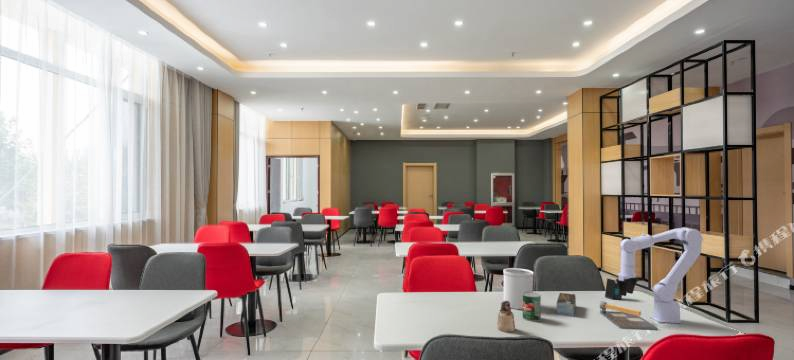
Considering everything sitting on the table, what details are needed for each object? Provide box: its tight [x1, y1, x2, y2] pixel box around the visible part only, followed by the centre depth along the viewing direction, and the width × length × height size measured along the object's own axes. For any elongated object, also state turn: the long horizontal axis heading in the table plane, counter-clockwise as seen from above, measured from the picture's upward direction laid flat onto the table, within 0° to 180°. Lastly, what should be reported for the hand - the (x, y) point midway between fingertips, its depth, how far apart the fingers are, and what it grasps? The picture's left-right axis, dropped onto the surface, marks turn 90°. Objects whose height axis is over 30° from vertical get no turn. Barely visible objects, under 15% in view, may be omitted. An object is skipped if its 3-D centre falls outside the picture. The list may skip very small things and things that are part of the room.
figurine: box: [496, 300, 516, 333], centre depth 169 cm, size 7×7×12 cm
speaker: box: [604, 278, 623, 301], centre depth 220 cm, size 8×6×10 cm
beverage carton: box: [556, 292, 577, 317], centre depth 198 cm, size 8×19×7 cm, turn 154°
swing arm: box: [599, 301, 642, 317], centre depth 187 cm, size 18×3×3 cm, turn 40°
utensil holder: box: [502, 267, 535, 310], centre depth 204 cm, size 15×15×18 cm
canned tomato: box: [522, 292, 542, 322], centre depth 184 cm, size 8×8×11 cm
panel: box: [599, 307, 658, 331], centre depth 183 cm, size 15×21×2 cm
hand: (626, 294), depth 188 cm, fingers open, 7 cm apart
